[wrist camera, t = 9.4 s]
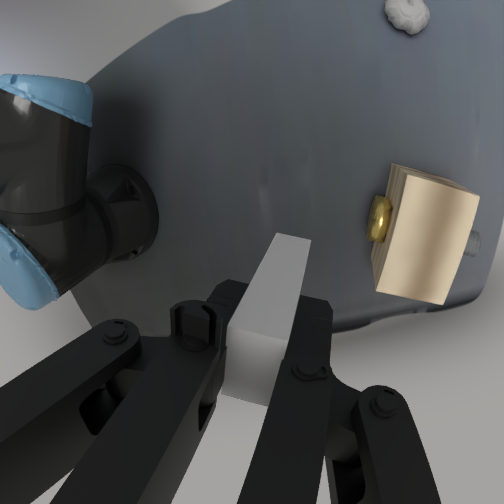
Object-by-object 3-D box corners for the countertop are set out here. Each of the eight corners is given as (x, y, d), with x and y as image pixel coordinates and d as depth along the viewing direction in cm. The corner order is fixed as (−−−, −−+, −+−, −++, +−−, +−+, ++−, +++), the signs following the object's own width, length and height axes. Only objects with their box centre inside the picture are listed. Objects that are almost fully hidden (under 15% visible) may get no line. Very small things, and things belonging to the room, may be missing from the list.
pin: (365, 231, 35) (368, 246, 30) (374, 190, 33) (379, 200, 28) (461, 254, 32) (474, 272, 27) (473, 217, 30) (489, 231, 25)
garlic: (378, -6, 24) (383, -23, 19) (420, 0, 22) (430, -15, 18) (384, 35, 26) (390, 21, 21) (427, 41, 25) (439, 29, 20)
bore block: (370, 255, 37) (375, 290, 29) (391, 163, 32) (407, 174, 24) (425, 268, 35) (442, 305, 27) (451, 179, 30) (480, 196, 22)
